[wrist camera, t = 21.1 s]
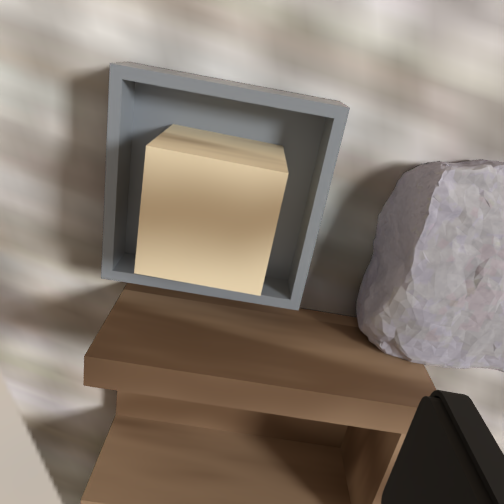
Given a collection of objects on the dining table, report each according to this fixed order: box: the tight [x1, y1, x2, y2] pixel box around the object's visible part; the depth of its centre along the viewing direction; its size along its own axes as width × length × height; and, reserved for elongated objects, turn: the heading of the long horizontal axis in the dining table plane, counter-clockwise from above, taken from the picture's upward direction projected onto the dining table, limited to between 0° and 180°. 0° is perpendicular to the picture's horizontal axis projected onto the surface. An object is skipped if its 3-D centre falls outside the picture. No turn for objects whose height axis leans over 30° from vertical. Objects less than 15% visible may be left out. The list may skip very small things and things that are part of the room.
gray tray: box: [101, 62, 350, 311], centre depth 20 cm, size 9×9×2 cm
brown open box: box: [81, 283, 436, 504], centre depth 24 cm, size 16×15×6 cm
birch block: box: [134, 124, 289, 296], centre depth 19 cm, size 5×5×5 cm
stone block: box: [356, 159, 504, 372], centre depth 22 cm, size 12×5×10 cm
